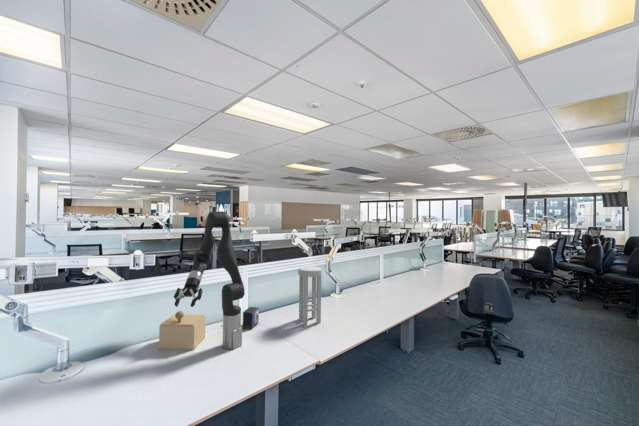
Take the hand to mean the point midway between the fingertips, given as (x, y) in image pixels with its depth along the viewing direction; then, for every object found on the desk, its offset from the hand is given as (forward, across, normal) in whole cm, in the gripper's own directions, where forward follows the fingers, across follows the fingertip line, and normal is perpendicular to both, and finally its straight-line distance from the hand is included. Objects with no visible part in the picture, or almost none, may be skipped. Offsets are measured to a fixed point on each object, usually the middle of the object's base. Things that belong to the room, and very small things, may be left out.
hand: (183, 306), depth 150 cm
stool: (-10, +67, +39) cm, 79 cm away
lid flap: (+6, 0, +6) cm, 8 cm away
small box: (-3, +30, +32) cm, 44 cm away
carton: (+14, 0, +14) cm, 20 cm away
